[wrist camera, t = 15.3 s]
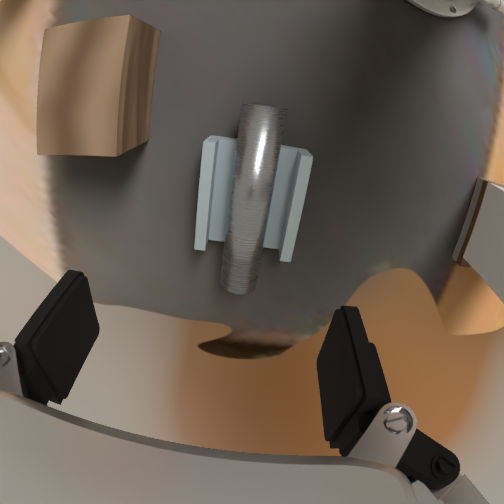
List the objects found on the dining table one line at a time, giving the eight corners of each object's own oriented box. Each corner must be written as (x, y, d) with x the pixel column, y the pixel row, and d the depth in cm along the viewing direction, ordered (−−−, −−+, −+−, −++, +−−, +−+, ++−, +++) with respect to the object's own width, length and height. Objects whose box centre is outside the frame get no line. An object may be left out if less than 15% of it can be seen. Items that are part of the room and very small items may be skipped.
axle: (246, 102, 25) (238, 102, 22) (287, 108, 24) (286, 109, 21) (224, 270, 33) (216, 289, 30) (258, 277, 33) (253, 297, 29)
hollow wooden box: (160, 31, 22) (130, 14, 16) (148, 140, 28) (116, 156, 21) (87, 37, 22) (44, 29, 15) (79, 138, 27) (37, 154, 21)
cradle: (306, 149, 28) (313, 157, 24) (287, 243, 33) (290, 262, 29) (210, 135, 27) (203, 141, 24) (201, 231, 32) (194, 249, 29)
